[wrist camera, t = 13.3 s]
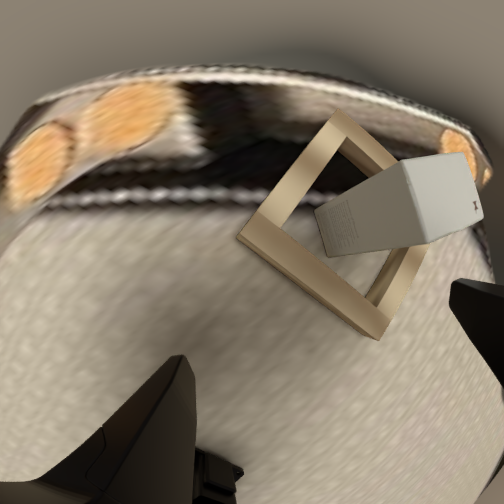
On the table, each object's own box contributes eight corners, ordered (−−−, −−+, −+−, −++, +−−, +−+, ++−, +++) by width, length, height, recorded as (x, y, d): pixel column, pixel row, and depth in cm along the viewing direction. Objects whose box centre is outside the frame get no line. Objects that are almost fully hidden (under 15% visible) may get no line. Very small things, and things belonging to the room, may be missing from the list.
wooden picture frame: (363, 335, 23) (378, 341, 20) (235, 237, 21) (239, 233, 19) (426, 215, 25) (442, 211, 22) (327, 121, 23) (338, 108, 21)
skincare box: (367, 194, 24) (465, 150, 12) (381, 239, 23) (486, 219, 12) (310, 209, 22) (401, 156, 11) (325, 259, 22) (429, 248, 11)
